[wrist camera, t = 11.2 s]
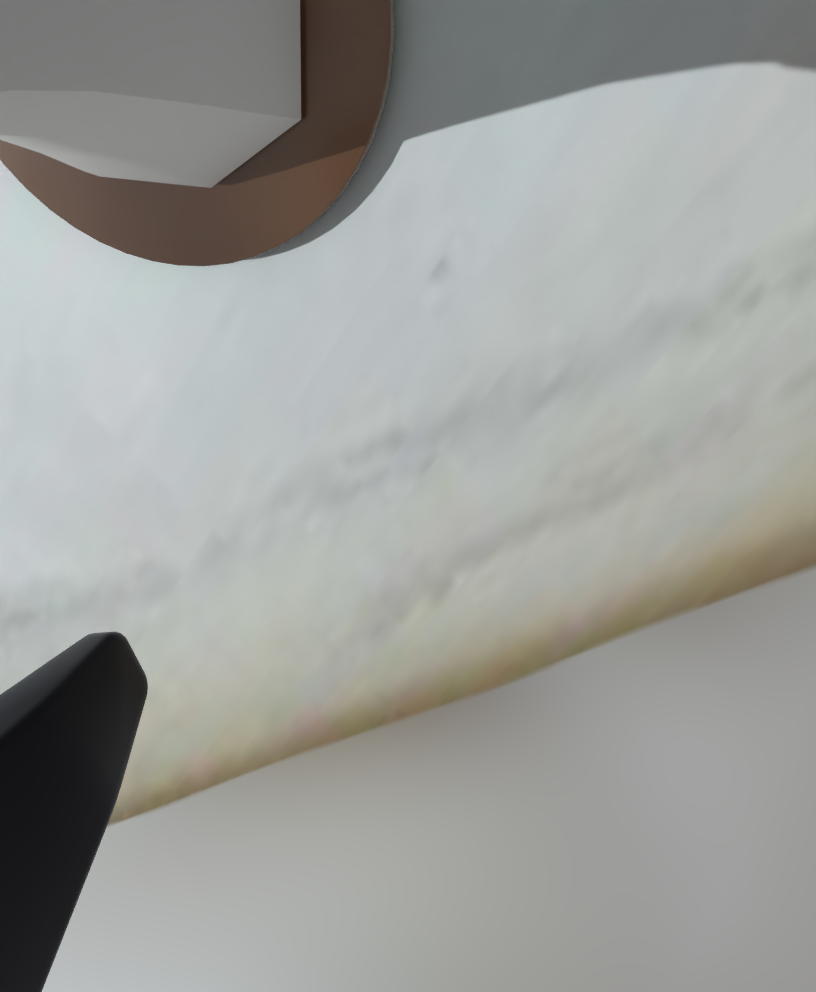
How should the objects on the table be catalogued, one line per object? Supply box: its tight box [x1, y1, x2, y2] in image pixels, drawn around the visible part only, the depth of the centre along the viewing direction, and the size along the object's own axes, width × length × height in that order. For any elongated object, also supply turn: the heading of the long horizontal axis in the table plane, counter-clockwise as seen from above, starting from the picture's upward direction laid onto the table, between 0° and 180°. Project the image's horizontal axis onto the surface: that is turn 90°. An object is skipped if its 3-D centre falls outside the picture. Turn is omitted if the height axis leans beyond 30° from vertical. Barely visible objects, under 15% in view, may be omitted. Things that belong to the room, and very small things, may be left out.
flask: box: [0, 0, 301, 188], centre depth 13 cm, size 7×7×10 cm
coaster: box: [0, 0, 394, 266], centre depth 17 cm, size 11×11×1 cm
